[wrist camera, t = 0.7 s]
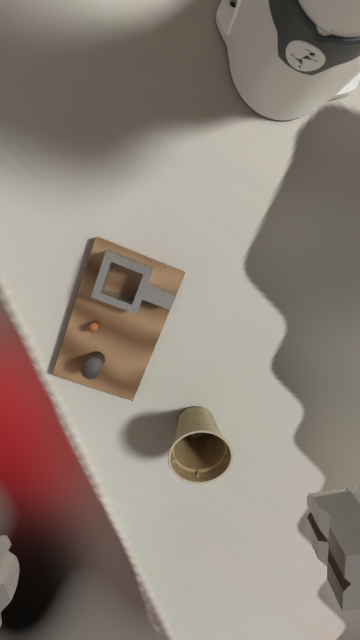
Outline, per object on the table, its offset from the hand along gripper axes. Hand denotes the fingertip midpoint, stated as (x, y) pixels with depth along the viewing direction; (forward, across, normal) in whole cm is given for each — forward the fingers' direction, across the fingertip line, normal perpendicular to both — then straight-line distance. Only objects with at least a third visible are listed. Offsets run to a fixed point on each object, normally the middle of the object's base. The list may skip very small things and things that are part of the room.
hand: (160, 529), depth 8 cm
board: (+37, +8, +5) cm, 38 cm away
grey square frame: (+36, +4, 0) cm, 36 cm away
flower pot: (+38, -2, +24) cm, 45 cm away
